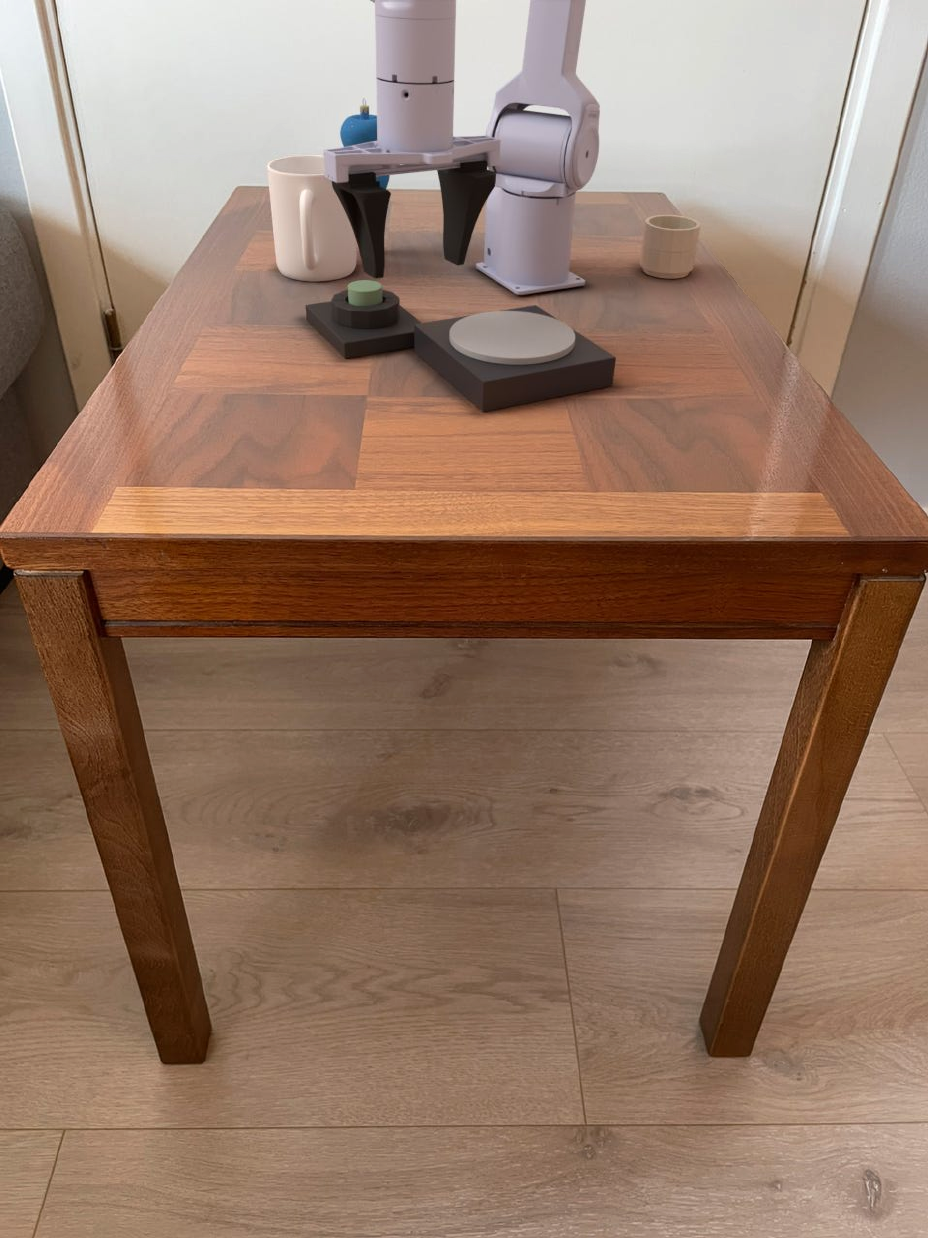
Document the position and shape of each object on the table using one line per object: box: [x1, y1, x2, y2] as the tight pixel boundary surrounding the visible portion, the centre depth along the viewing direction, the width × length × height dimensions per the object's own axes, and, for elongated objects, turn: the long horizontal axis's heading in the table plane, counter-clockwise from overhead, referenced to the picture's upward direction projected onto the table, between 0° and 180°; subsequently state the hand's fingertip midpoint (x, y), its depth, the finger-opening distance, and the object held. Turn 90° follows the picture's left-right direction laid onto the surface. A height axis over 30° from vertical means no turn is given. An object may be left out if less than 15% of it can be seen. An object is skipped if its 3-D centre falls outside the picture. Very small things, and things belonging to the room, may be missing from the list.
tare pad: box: [305, 289, 422, 359], centre depth 87 cm, size 10×8×3 cm
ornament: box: [339, 98, 391, 190], centre depth 102 cm, size 5×5×15 cm
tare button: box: [347, 279, 383, 306], centre depth 86 cm, size 3×3×2 cm
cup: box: [266, 154, 357, 282], centre depth 97 cm, size 8×12×10 cm
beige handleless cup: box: [639, 214, 702, 280], centre depth 102 cm, size 6×6×5 cm
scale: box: [413, 304, 617, 413], centre depth 81 cm, size 13×12×3 cm
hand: (414, 268), depth 79 cm, fingers open, 7 cm apart
